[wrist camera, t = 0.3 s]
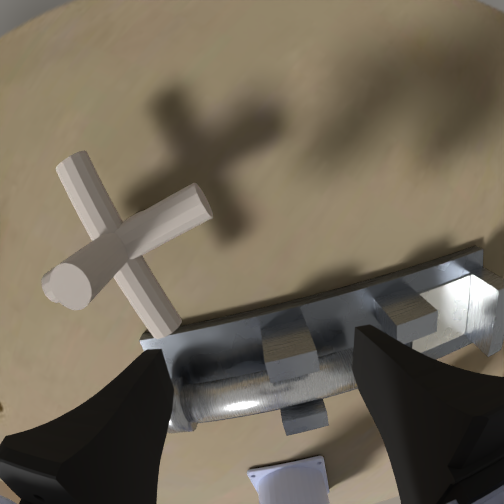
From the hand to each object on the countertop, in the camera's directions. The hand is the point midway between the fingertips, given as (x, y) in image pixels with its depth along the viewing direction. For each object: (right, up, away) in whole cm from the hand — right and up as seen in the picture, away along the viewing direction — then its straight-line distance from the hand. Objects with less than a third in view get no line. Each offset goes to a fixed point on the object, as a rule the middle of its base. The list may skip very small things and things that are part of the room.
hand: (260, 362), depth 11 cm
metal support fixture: (+6, -3, +12) cm, 13 cm away
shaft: (0, -5, +10) cm, 11 cm away
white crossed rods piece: (-7, +6, +8) cm, 13 cm away
